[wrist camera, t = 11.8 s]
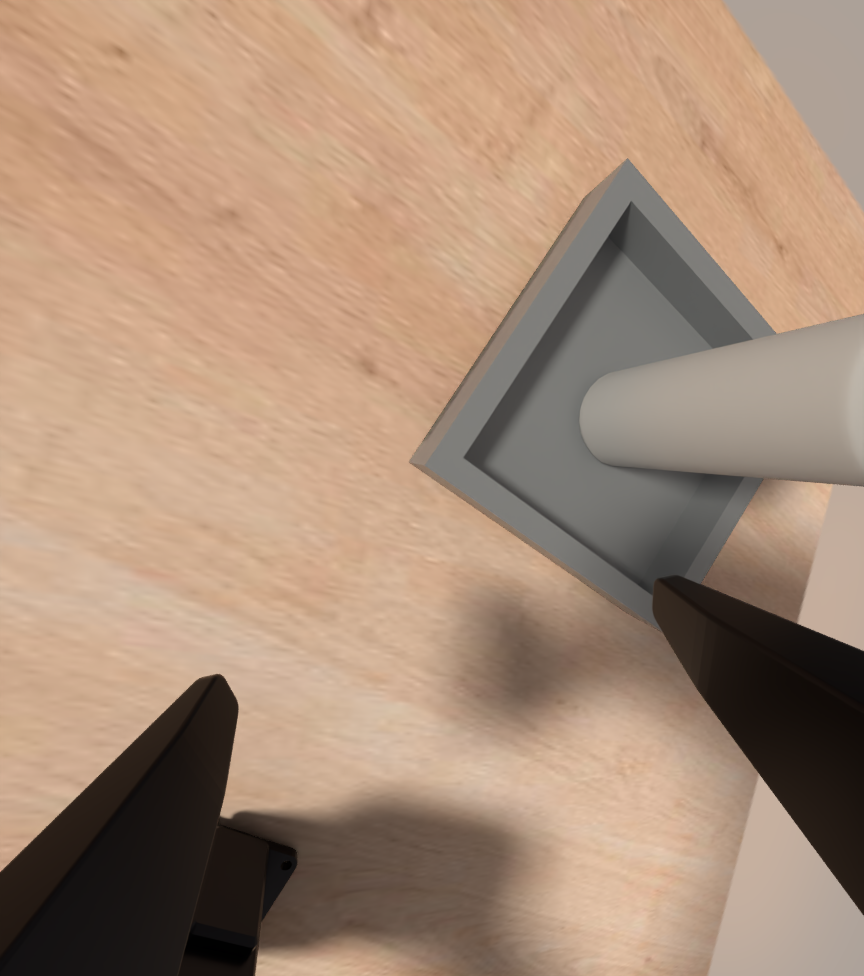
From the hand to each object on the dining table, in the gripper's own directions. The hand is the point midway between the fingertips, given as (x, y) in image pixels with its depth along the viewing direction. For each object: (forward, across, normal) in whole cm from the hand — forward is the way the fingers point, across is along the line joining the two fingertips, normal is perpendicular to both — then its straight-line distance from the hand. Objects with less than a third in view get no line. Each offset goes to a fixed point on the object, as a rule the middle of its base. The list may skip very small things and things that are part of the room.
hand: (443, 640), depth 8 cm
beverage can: (+14, -11, +1) cm, 18 cm away
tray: (+14, -11, +2) cm, 18 cm away
